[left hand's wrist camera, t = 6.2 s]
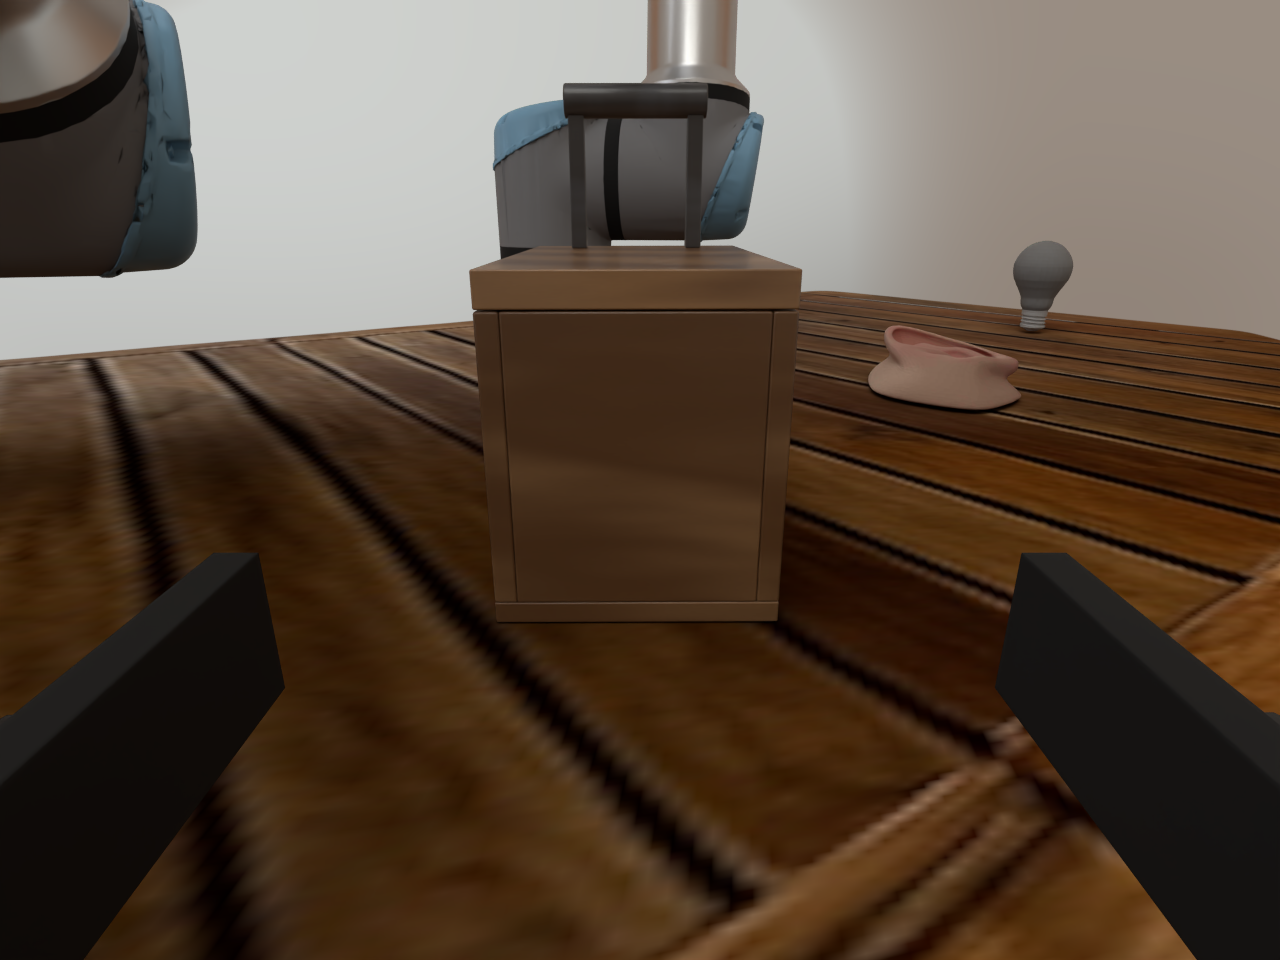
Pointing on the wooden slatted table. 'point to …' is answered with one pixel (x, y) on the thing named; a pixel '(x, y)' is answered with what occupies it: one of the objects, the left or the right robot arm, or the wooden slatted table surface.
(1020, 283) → the light bulb
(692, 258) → the lid
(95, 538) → the wooden slatted table surface
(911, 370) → the anatomical model
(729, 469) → the chest
